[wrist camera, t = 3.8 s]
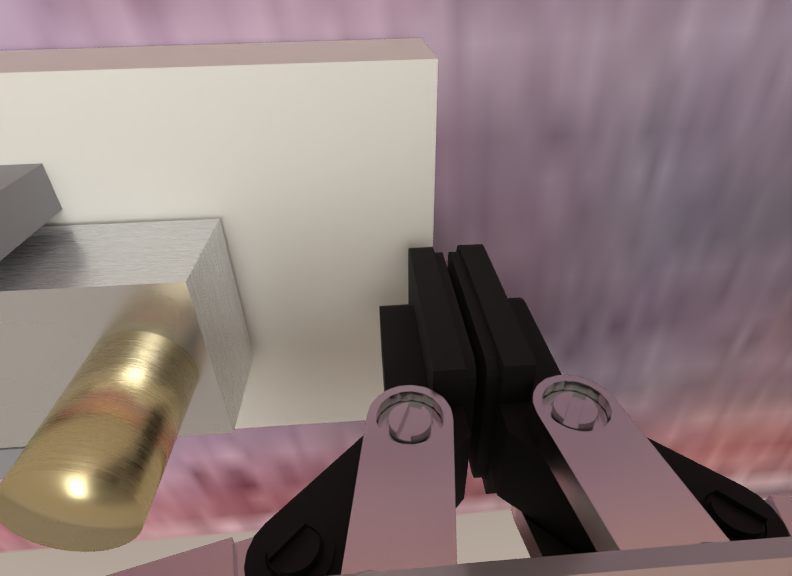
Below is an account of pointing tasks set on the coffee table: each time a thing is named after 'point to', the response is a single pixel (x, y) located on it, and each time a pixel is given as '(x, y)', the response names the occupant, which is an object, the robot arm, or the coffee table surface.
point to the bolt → (112, 371)
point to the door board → (244, 186)
